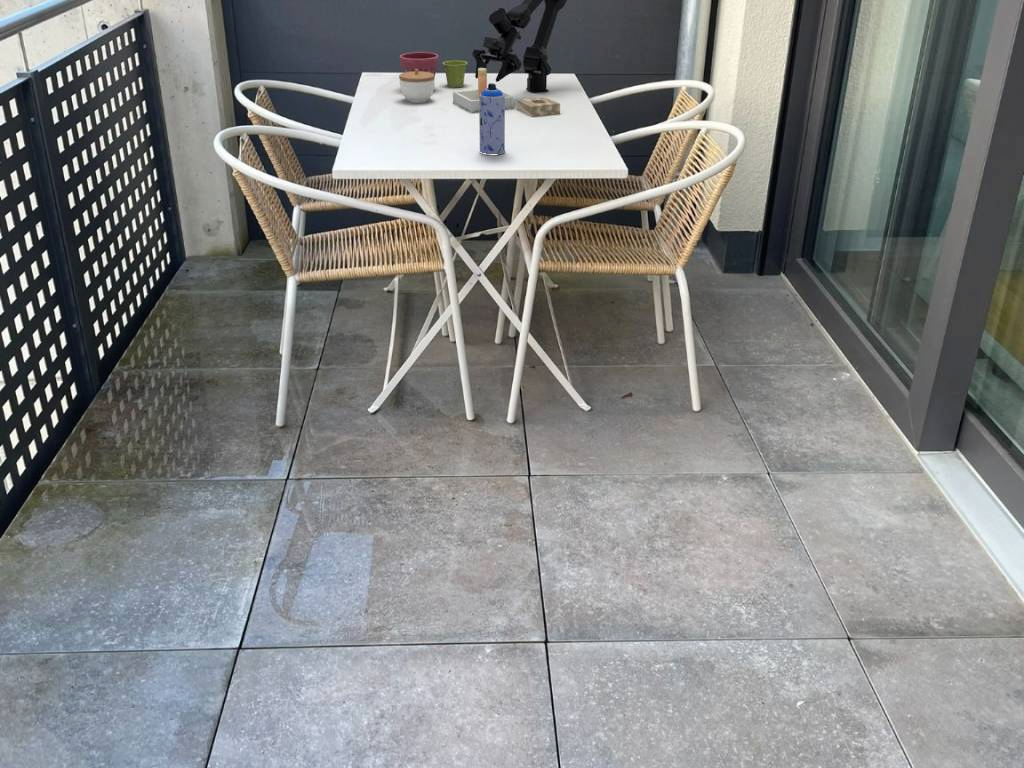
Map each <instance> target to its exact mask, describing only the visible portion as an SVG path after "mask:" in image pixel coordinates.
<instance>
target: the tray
mask: <svg viewBox="0 0 1024 768" xmlns="http://www.w3.org/2000/svg"><path fill="white" fill-rule="evenodd" d="M502 93H503V94H504V97H505V110H513V109H514V97H513V96H512V95H509V94H507V93H506V92H503V91H502ZM452 103H455V104H456V106H457V105H458V106H457V107H459V106H460V107H459V108H461V107H462V108H461V109H463V110H464V109H465V110H464V111H466V110H467V111H466V112H468V111H469V112H468V113H470V112H475V113H479V100H478V89H473V90H472V89H471V90H460V91H459V90H458V91H452ZM455 104H454V105H455Z"/></svg>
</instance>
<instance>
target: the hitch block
mask: <svg viewBox="0 0 1024 768" xmlns="http://www.w3.org/2000/svg"><path fill="white" fill-rule="evenodd" d="M516 104H517V106H516V107H517V108H516V110H517V111H518V112H520V113H522V114H525V115H527V116H529V117H530V118H532V117H542V116H543V117H544V116H552V115H560V114H561V103H560V102H558V101H555V100H554V99H551V98H549V97H547V96H544V97H533V98H523V99H517V103H516Z"/></svg>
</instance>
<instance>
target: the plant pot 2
mask: <svg viewBox="0 0 1024 768" xmlns="http://www.w3.org/2000/svg"><path fill="white" fill-rule="evenodd" d="M442 65H443V68H444V72H445V79H446V84H447V86H448V87H449V88H462V87H464V84H465V74H466V68H467V65H468V61H464V60H448V61H443V62H442Z"/></svg>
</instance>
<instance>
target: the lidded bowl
mask: <svg viewBox="0 0 1024 768" xmlns="http://www.w3.org/2000/svg"><path fill="white" fill-rule="evenodd" d="M398 78H399V86H400V87H399V88H400V91H401V93H402V94H401V95H403V97H404V98H405V99H406V100H407V102H409V103H411V102H412V103H413V104H422V103H427V102H428V101H429V100H430V98H431V97H432V95H433V93H434V90H435V79H434V78H436V74H435V75H434V74H433V73H430V72H421V71H418V69H415V71H414V72H405V73H404V72H403V73H400V74H399V75H398ZM426 101H427V102H426Z"/></svg>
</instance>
